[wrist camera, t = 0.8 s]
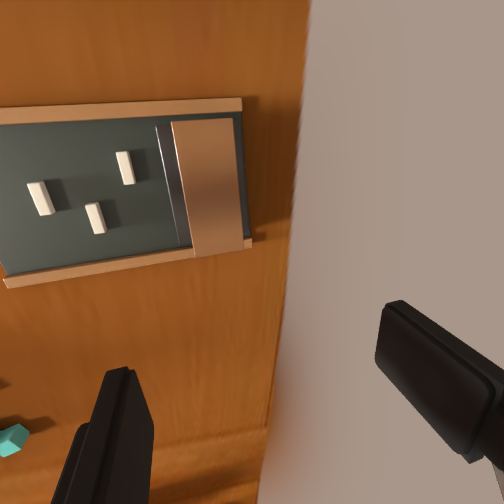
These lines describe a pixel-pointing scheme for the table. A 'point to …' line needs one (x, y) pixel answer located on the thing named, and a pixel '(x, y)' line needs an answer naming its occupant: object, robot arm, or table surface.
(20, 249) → the slate board
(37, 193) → the chalk stub
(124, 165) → the chalk stub
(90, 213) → the chalk stub
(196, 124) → the eraser
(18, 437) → the alien figure
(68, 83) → the table surface
